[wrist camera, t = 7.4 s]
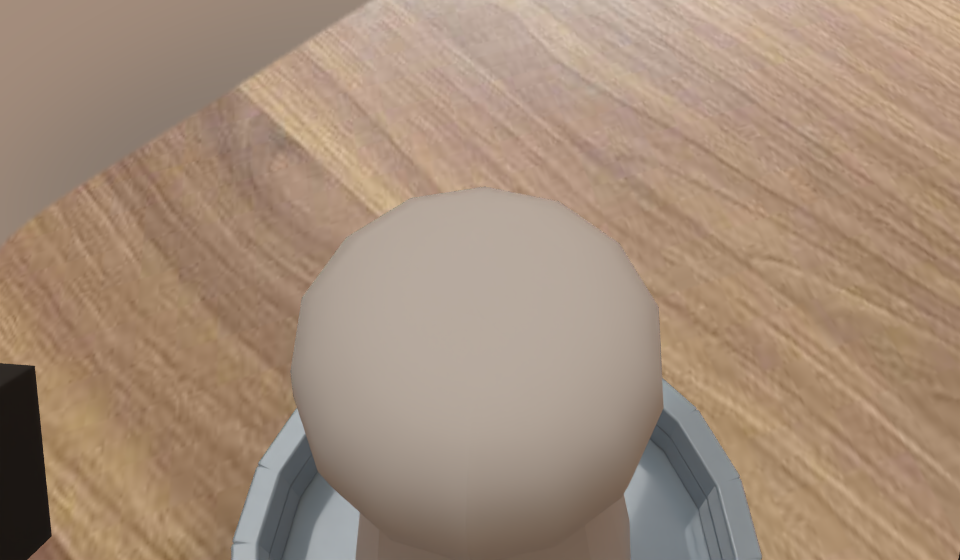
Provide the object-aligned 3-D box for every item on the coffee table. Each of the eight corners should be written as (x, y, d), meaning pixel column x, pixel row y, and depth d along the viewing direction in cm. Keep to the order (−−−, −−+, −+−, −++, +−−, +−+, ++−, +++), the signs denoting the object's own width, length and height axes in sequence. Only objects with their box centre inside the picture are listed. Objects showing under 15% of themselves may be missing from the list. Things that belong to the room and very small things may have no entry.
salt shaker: (320, 582, 21) (83, 338, 9) (481, 406, 23) (448, 30, 11) (511, 771, 19) (506, 754, 7) (670, 560, 21) (861, 287, 9)
